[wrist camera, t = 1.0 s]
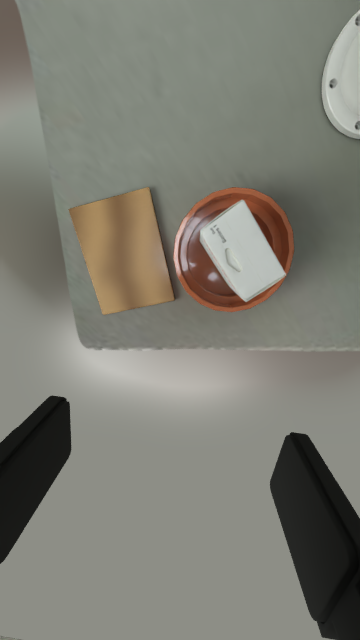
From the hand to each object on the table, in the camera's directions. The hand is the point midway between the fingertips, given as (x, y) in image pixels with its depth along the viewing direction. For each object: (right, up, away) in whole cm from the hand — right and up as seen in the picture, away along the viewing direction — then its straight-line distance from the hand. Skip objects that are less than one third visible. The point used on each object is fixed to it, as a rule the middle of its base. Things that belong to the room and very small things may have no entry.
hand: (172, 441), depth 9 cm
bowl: (+7, +15, +23) cm, 28 cm away
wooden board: (-8, +15, +24) cm, 29 cm away
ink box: (+7, +15, +22) cm, 28 cm away
